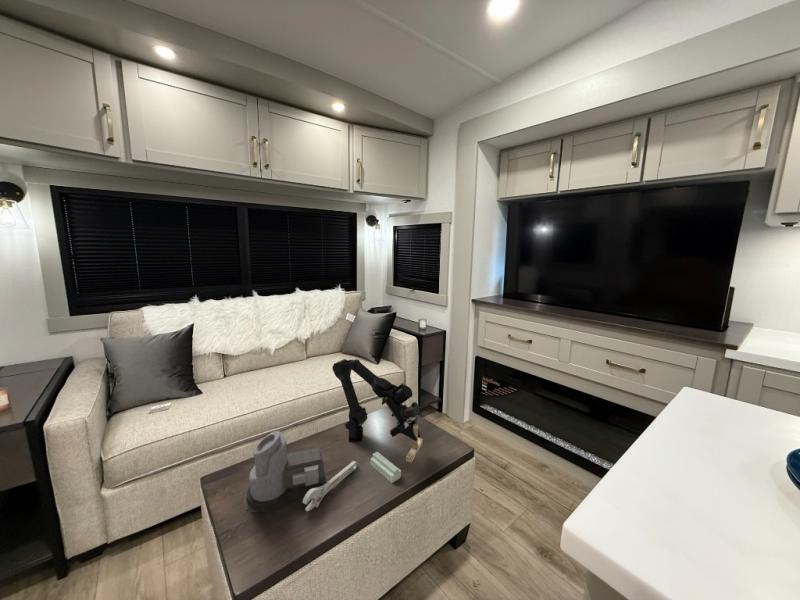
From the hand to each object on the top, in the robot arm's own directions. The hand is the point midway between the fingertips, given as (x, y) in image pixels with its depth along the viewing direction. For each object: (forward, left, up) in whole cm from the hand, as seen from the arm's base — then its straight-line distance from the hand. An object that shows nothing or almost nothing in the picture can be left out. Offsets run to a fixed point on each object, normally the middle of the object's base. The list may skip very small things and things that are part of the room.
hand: (418, 438), depth 134 cm
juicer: (-53, -10, -12) cm, 55 cm away
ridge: (-14, -3, -12) cm, 19 cm away
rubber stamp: (-1, +1, -7) cm, 7 cm away
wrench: (-35, -11, -12) cm, 39 cm away
